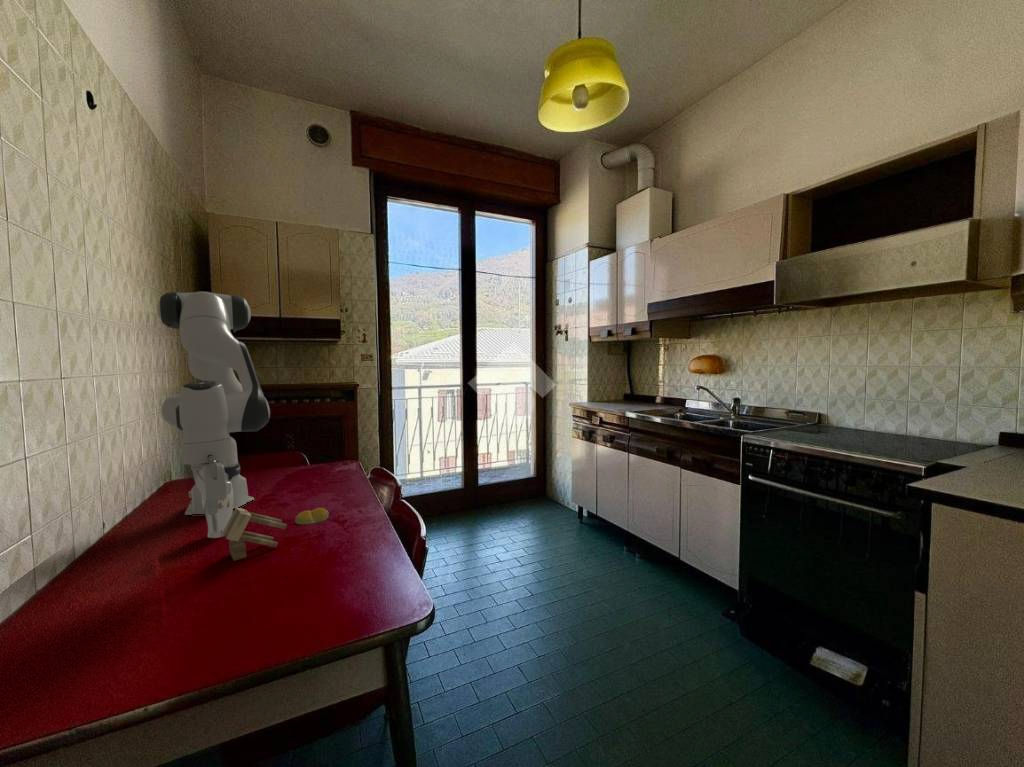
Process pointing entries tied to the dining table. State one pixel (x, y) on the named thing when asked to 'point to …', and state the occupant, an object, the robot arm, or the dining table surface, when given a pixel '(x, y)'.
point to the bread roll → (312, 516)
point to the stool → (240, 521)
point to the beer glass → (220, 513)
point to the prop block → (237, 549)
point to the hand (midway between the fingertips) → (212, 513)
